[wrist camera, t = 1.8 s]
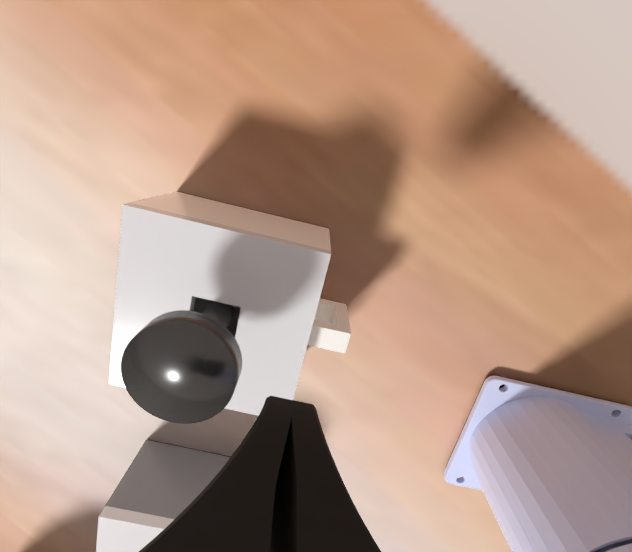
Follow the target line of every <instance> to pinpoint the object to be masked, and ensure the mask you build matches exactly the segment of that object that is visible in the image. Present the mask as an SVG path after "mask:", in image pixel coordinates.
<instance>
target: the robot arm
mask: <svg viewBox="0 0 632 552" xmlns="http://www.w3.org/2000/svg"><path fill="white" fill-rule="evenodd" d="M503 384H505V385H504V387H502V388H499V387H500V386H501V385H503ZM614 410H615V411H614ZM613 411H614V412H613ZM443 475H444V478H445V481H446V482H447V483H450V484H454V485H459V486H464V487H468V488H473V489H478V490H483V492H484V494H485V497H486V499H487V501H488V503H489V505H490V507H491V509H492V511H493V513H494V515H495V518H496V520H497V522H498V524H499V526H500V528H501V530H502V532H503V534H504V536H505V539H506V541H507V543H508V545H509V547H510V549H511V551H512V552H632V406H628V405H624V404H619V403H615V402H610V401H606V400H601V399H597V398H593V397H588V396H584V395H579V394H575V393H570V392H566V391H562V390H557V389H553V388H548V387H544V386H540V385H535V384H531V383H526V382H522V381H517V380H513V379H509V378H504V377H500V376H489V377H488V378H486V380H485V381H484V384H483V386H482V388H481V390H480V393H479V395H478V397H477V399H476V402H475V404H474V406H473V408H472V410H471V413H470V415H469V417H468V419H467V422H466V424H465V426H464V428H463V431H462V433H461V435H460V437H459V440H458V442H457V444H456V446H455V449H454V451H453V453H452V455H451V457H450V460H449V462H448V464H447V466H446V469H445V471H444V474H443ZM458 477H460V478H458ZM139 552H381V551H380V549H379V548H378V546H377V544H376V543H375V541H374V539H373V538H372V536H371V534H370V533H369V531H368V529H367V527H366V526H365V524H364V522H363V520H362V519H361V517H360V515H359V513H358V511H357V509H356V507H355V505H354V504H353V502H352V500H351V498H350V495H349V493H348V491H347V489H346V487H345V485H344V483H343V481H342V479H341V476H340V474H339V472H338V470H337V467H336V465H335V462H334V460H333V458H332V455H331V453H330V450H329V448H328V445H327V442H326V440H325V437H324V434H323V431H322V428H321V425H320V422H319V418H318V415H317V411H316V408H315V407H314V405H312V404H307V403H303V402H298V401H294V400H289V399H284V398H280V397H275V396H269V397H267V398H266V400H265V403H264V406H263V408H262V410H261V412H260V414H259V416H258V418H257V420H256V421H255V423H254V425H253V426H252V428H251V429H250V431H249V432H248V434H247V435H246V437H245V438H244V440H243V441H242V443H241V444H240V446H239V447H238V448H237V450H236V451H235V452H234V454H233V455H232V456H231V457H230V459H229V460H228V461H227V463H226V464H225V465H224V466H223V468H222V469H221V470H220V471H219V473H218V474H217V475H216V476H215V477H214V478H213V480H212V481H211V482H210V483H209V484H208V485H207V486H206V488H205V489H204V490H203V491H202V492H201V493H200V494H199V495H198V496H197V497H196V498H195V499H194V500H193V501H192V502H191V504H190V505H189V506H188V507H186V508H185V509H184V510H183V511H182V512H181V513H180V514H179V515H178V516H177V517H176V518H175V519H174V520H173V521H172V522H171V523H170V524H169V525H168V526H167V527H166V528H165V529H164V530H163V531H162V532H161V533H160V534H158V535H157V536H156V537H155V538H154V539H153V540H152V541H151V542H149V543H148V544H147V545H146V546H145V547H144V548H142V549H141V550H140V551H139Z"/></svg>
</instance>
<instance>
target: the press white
mask: <svg viewBox="0 0 632 552" xmlns="http://www.w3.org/2000/svg"><path fill="white" fill-rule="evenodd" d="M330 257H331V245H330V233H329V228H325V227H321V226H316V225H312V224H308V223H304V222H300V221H296V220H292V219H288V218H284V217H279V216H275V215H271V214H267V213H263V212H259V211H255V210H251V209H247V208H243V207H238V206H234V205H230V204H226V203H222V202H218V201H214V200H210V199H206V198H201V197H197V196H193V195H189V194H185V193H181V192H177V191H176V192H172V193H168V194H164V195H160V196H156V197H151V198H147V199H143V200H139V201H135V202H131V203H127V204H123V206H122V219H121V232H120V245H119V258H118V271H117V284H116V297H115V310H114V323H113V336H112V349H111V362H110V375H109V384H111V385H116V386H120V387H125V385H124V383H123V379H122V375H121V359H122V355H123V352H124V350H125V348H126V346H127V345H128V343H129V342H130V341H131V339H133V338H134V337H135V336H136V335H137V334H138V333H139V332H140V331H141V330H142V329H143V328H144V327H145V326H146V325H147V324H148V323H149V322H150V321H151V320H153V319H154V318H156V317H158V316H160V315H162V314H164V313H167V312H171V311H178V310H189V311H195V312H199V313H202V312H203V311H204V310H205V309H206V307H207V306H208V305H209V303H210V302H211V301H216V302H221V303H225V304H229V305H233V307H234V316H233V318H232V320H231V322H230V324H229V326H228V327H227V329H228V330H229V331H230V332H231V333H232V335H233V336H234V338H235V339H236V341H237V343H238V345H239V347H240V351H241V355H242V371H241V374H240V377H239V380H238V383H237V385H236V388H235V391H234V393H233V396H232V398H231V400H230V401H229V403H228V404H227V406H226V407H225V408H224V409H229V410H234V411H238V412H243V413H248V414H253V415H257V416H259V414H260V412H261V410H262V408H263V406H264V403H265V400H266V398H267V397H269V396H275V397H280V398H284V399H289V400H293V398H294V394H295V390H296V387H297V383H298V379H299V375H300V371H301V368H302V364H303V360H304V356H305V352H306V349H307V345H309V346H314V347H318V348H323V349H327V350H332V351H336V352H341V353H345V352H346V348H347V345H348V342H349V338H350V335H351V331H350V325H349V319H348V312H347V306H346V304H343V303H339V302H334V301H330V300H326V299H321V298H320V295H321V292H322V288H323V284H324V280H325V276H326V273H327V269H328V265H329V261H330ZM125 388H126V387H125Z"/></svg>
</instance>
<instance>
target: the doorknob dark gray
mask: <svg viewBox="0 0 632 552" xmlns="http://www.w3.org/2000/svg"><path fill="white" fill-rule="evenodd" d="M233 316H234V307H233V305H229V304H225V303H221V302H216V301H211V302H210V303H209V305H208V306H207V307H206V309H205V310H204V311H203V312H202V313H199V312H195V311H189V310H178V311H171V312H167V313H164V314H162V315H160V316H158V317H156V318H154V319H153V320H151V321H150V322H149V323H148V324H147V325H146V326H145V327H144V328H143V329H142V330H141V331H140V332H139V333H138V334H137V335H136V336H135V337H134V338H133V339H131V341H130V342H129V343H128V345H127V346H126V348H125V350H124V352H123V355H122V359H121V375H122V379H123V383H124V385H125V387H126V389H127V391H128V393H129V394H130V396H131V397H132V398H133V400H134V401H135V402H136V403H137V404H138V405H139V406H140V407H142V408H143V409H144V410H145V411H147V412H148V413H150V414H152V415H154V416H156V417H158V418H160V419H163V420H166V421H170V422H175V423H196V422H201V421H204V420H207V419H209V418H212V417H213V416H215V415H217V414H218V413H219V412H221V411H222V410H223V409H224V408H225V407H226V406H227V404H228V403H229V401H230V400H231V398H232V396H233V393H234V391H235V388H236V385H237V383H238V380H239V377H240V374H241V371H242V355H241V351H240V347H239V345H238V343H237V341H236V339H235V338H234V336H233V335H232V333H231V332H230V331H229V330H228V329H227V327H228V326H229V324H230V322H231V320H232V318H233Z"/></svg>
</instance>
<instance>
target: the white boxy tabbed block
mask: <svg viewBox="0 0 632 552" xmlns="http://www.w3.org/2000/svg"><path fill="white" fill-rule="evenodd" d="M229 459H230V457H228V456H223V455H218V454H214V453H209V452H204V451H199V450H194V449H189V448H184V447H179V446H174V445H170V444H165V443H160V442H155V441H150V440H146V441H145V443H144V444H143V446H142V448H141V449H140V451H139V452H138V454H137V456H136V457H135V459H134V460H133V462H132V464H131V465H130V467H129V468H128V470H127V472H126V473H125V475H124V476H123V478H122V480H121V481H120V483H119V485H118V486H117V488H116V489H115V491H114V493H113V494H112V496H111V497H110V499H109V501H108V502H107V504H106V505H105V507H104V509H103V510H102V512H101V513H100V515H99V518H98V531H97V544H96V552H139V551H140V550H141V549H142V548H144V547H145V546H146V545H147V544H148V543H149V542H151V541H152V540H153V539H154V538H155V537H156V536H157V535H158V534H160V533H161V532H162V531H163V530H164V529H165V528H166V527H167V526H168V525H169V524H170V523H171V522H172V521H173V520H174V519H175V518H176V517H177V516H178V515H179V514H180V513H181V512H182V511H183V510H184V509H185V508H186V507H188V506H189V505H190V504H191V502H192V501H193V500H194V499H195V498H196V497H197V496H198V495H199V494H200V493H201V492H202V491H203V490H204V489H205V488H206V486H207V485H208V484H209V483H210V482H211V481H212V480H213V478H214V477H215V476H216V475H217V474H218V473H219V471H220V470H221V469H222V468H223V466H224V465H225V464H226V463H227V461H228V460H229Z"/></svg>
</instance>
